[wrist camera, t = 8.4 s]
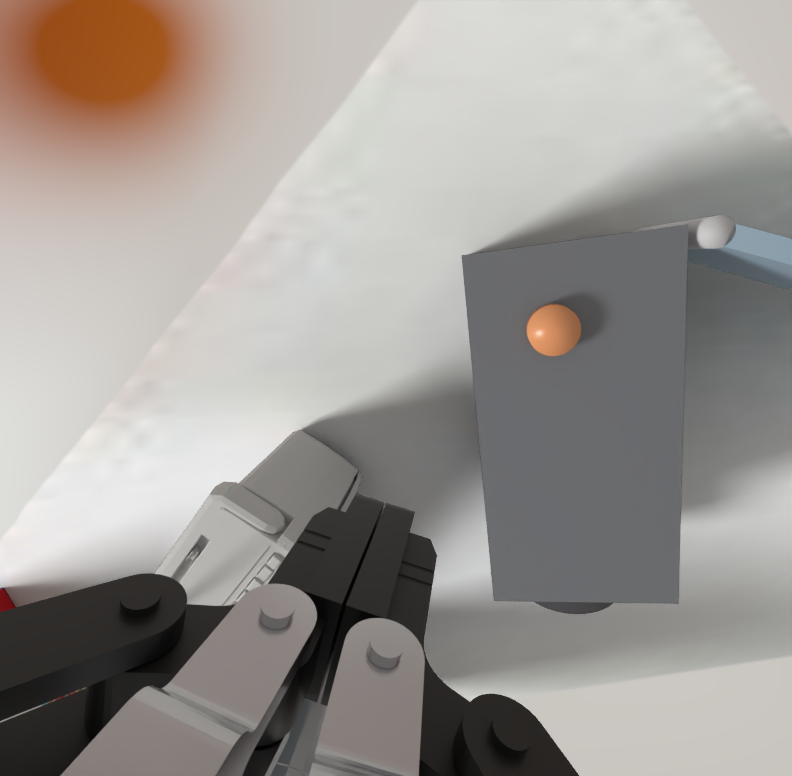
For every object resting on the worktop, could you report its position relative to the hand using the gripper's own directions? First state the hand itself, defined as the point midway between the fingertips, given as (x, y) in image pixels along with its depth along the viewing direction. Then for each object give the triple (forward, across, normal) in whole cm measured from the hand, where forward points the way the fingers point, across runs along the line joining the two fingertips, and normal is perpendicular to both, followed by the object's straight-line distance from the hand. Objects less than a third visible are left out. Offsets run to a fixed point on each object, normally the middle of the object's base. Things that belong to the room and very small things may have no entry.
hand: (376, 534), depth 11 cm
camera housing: (+26, -8, +2) cm, 28 cm away
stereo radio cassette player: (+27, +11, +20) cm, 35 cm away
